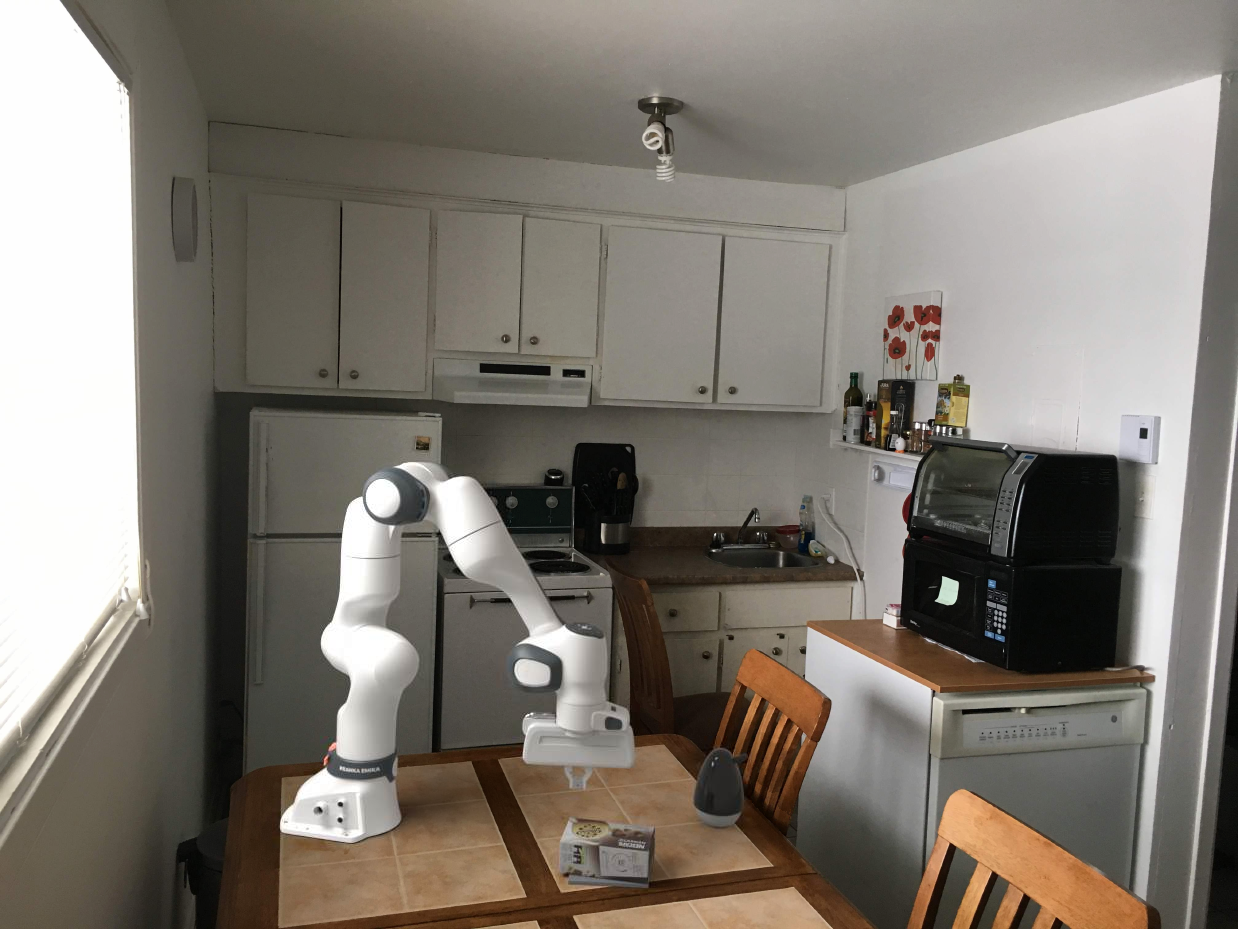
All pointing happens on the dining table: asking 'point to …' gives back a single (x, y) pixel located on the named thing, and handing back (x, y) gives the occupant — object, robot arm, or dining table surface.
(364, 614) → the robot arm
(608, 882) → the mat
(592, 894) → the dining table surface
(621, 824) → the coffee box
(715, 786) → the pump dispenser
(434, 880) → the dining table surface
